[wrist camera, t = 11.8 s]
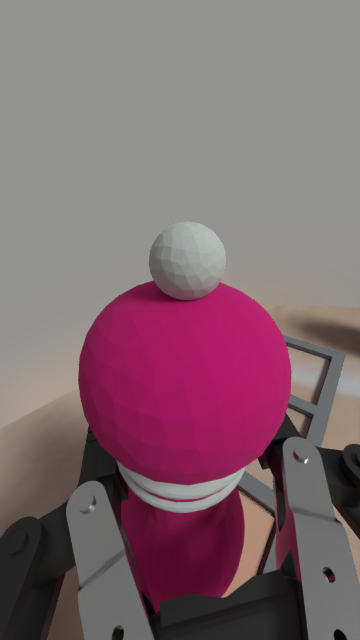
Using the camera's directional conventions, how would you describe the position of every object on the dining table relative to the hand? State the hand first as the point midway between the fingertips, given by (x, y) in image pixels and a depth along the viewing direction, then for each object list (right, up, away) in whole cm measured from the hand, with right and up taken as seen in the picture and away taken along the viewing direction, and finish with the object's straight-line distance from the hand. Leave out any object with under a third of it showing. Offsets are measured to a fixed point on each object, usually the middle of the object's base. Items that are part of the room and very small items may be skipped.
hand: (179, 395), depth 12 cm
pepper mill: (0, -11, +4) cm, 12 cm away
